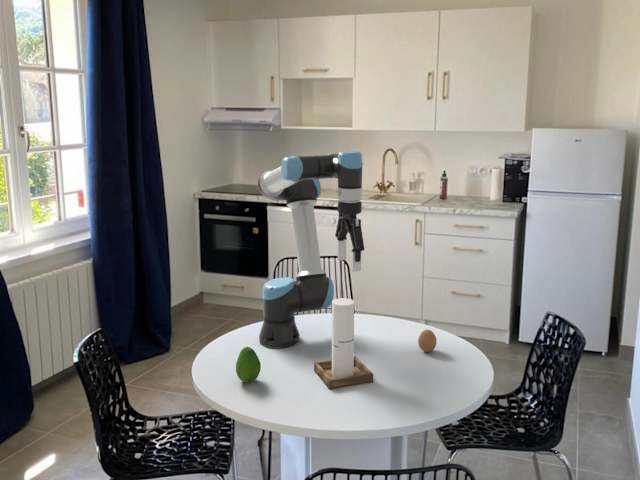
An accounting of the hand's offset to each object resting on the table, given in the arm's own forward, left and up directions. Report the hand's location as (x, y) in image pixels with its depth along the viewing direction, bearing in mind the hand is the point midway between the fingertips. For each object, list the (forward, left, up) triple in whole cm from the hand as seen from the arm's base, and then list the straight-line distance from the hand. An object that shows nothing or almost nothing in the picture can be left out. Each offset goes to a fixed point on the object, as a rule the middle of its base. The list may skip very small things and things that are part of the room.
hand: (348, 265), depth 210 cm
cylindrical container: (+4, -4, -36) cm, 36 cm away
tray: (+4, -4, -36) cm, 37 cm away
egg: (-5, +32, -37) cm, 49 cm away
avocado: (-3, -34, -37) cm, 50 cm away
